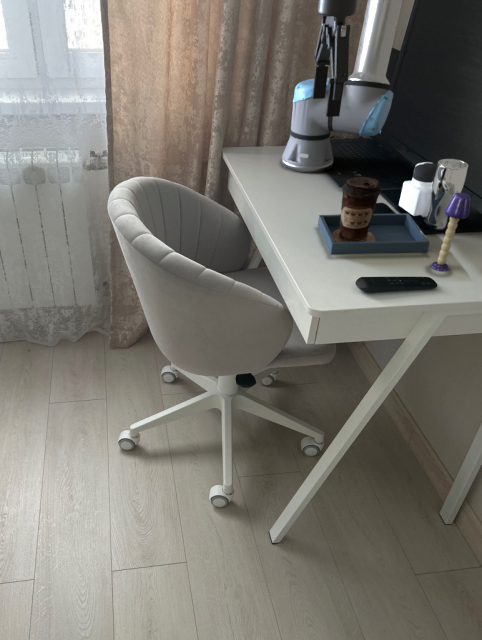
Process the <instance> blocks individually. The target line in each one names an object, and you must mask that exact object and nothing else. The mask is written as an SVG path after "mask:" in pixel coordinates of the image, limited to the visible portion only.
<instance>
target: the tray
mask: <svg viewBox="0 0 482 640" xmlns="http://www.w3.org/2000/svg"><path fill="white" fill-rule="evenodd" d="M340 219H341V214H318V221H317V226H318V229H319V231H320V233H321V236H322V237H323V240H324V243H325V245H326V247H327V250H328V252H329V254H330V255H370V254H371V255H373V254H375V255H376V254H417V253H418V254H419V253H420V254H421V253H422V254H423V253H426V254H427V253H428V251H429V247H430V244H431V241H430V239H428V237H427V236H426V235H425V234H424V232H423V230H422V229H421V228H420V226H419V225H418V224H417V223H416V221H415V220H414V218H413V217H412V216H411V214H410V213H409V212H405V213H374V214H373V217H372V219H371V222H370V227H369V228H368V232H370V233H371V234H373V235H374V236H375V242H335V241H334V239H333V237H332V233H333V232H334V231H335V230H338V229H340Z"/></svg>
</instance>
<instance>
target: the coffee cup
mask: <svg viewBox="0 0 482 640" xmlns="http://www.w3.org/2000/svg"><path fill="white" fill-rule="evenodd" d="M380 184H381V183H380V180H378V179H376V178H373V177H367V176H358V177H356V176H355V177H353V178H349V179H347V180H346V183H344V184H343V186H342V189H341V190H342V195H341V196H342V197H341V207H340V215H341V219H340V233H339V236H340V237H341V238H342V239H344V240H347V241H351V242H360V241H364V240H366V239H367V236H368V234H367V233H368V228H369V227H370V222H371V219H372V217H373V214H375V211H376V207H377V202H378V199H379V196H380V195H381V193H382V187H381V186H380Z"/></svg>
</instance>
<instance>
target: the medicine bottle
mask: <svg viewBox="0 0 482 640" xmlns="http://www.w3.org/2000/svg"><path fill="white" fill-rule="evenodd" d="M437 164H438V163H434V162H430V161H424V162H419V163H417V164H416V165H415V167H414V170H413V175H412V177H411V178H412V179H411V180H405V181H404V182H403V183H402V187H401V193H400V198H399V202H398V206H399V207H400V208H401V209H403V210H405V211H406V213H409V215H412V216H413V217H417V216H421V217H422V218H425V217H426V215H427V213H428V209H429V203H430V191H431V184H432V180H433V176H434V173H435V170H436V167H437Z"/></svg>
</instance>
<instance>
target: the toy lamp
mask: <svg viewBox="0 0 482 640" xmlns="http://www.w3.org/2000/svg"><path fill="white" fill-rule="evenodd" d="M470 211H471V195H470V194H468V193H466V192H461V193H455V194H454V196H453V197H452V199H451V201H450V202H449V204H448V206H447V207H446V209H445V214H446V215H447V216H449V217H450V222H449V223H448V229H447V230H445V233H444V234H445V235H444V236H443V240H442V244H441V246H440V251H439V253H438V254H439V256H438V257H437V260H436V261H433V262H432V263H430V265H429V266H430V268H431V270H434V271H436V272H441V273H442V272H447V271H449V270H450V267H449V265H448V264H447V263H446V262H447V260H448V258H447V257H448V256H449V253H450V249H451V247H452V243H453V241H454V236H455V234H456V229H457V228H458V222H459V221H460V220H461V219H463V220H464V219H467V218H469V216H470Z"/></svg>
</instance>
